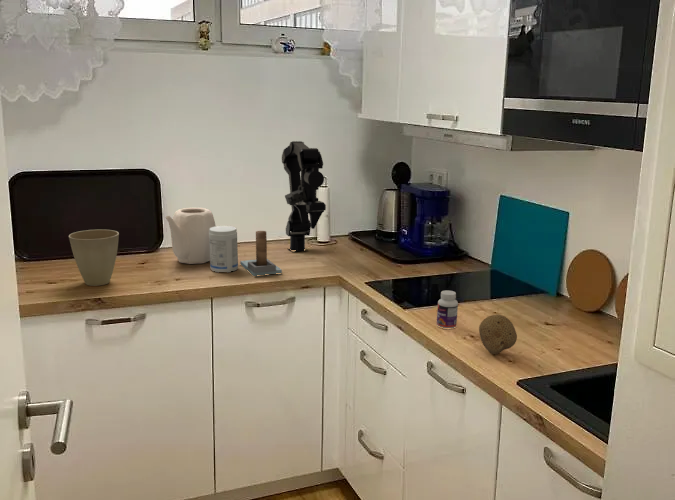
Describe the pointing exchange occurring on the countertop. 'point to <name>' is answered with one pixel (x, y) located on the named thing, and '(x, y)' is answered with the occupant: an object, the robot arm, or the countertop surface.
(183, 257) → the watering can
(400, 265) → the countertop surface
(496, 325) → the natural sponge
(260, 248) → the stool leg
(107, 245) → the plant pot
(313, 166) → the robot arm
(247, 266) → the seat board
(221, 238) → the supplement tub
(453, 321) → the pill bottle
